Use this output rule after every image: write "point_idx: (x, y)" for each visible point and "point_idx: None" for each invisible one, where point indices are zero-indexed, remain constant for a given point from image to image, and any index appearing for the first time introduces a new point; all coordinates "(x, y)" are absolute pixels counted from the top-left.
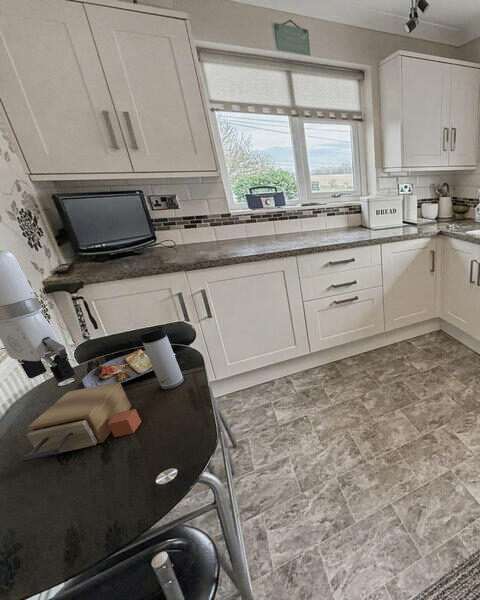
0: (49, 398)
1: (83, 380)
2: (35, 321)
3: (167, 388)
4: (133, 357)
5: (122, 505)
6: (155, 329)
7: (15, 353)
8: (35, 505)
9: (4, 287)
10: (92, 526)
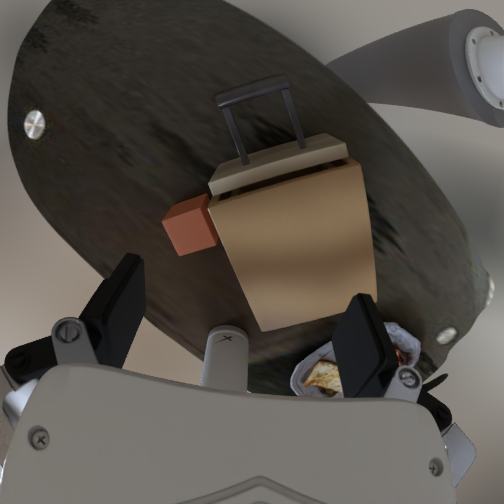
0: (450, 302)
1: (417, 340)
2: None
3: (222, 326)
4: None
5: (53, 67)
6: None
7: (335, 466)
8: (203, 29)
9: None
10: (67, 33)
